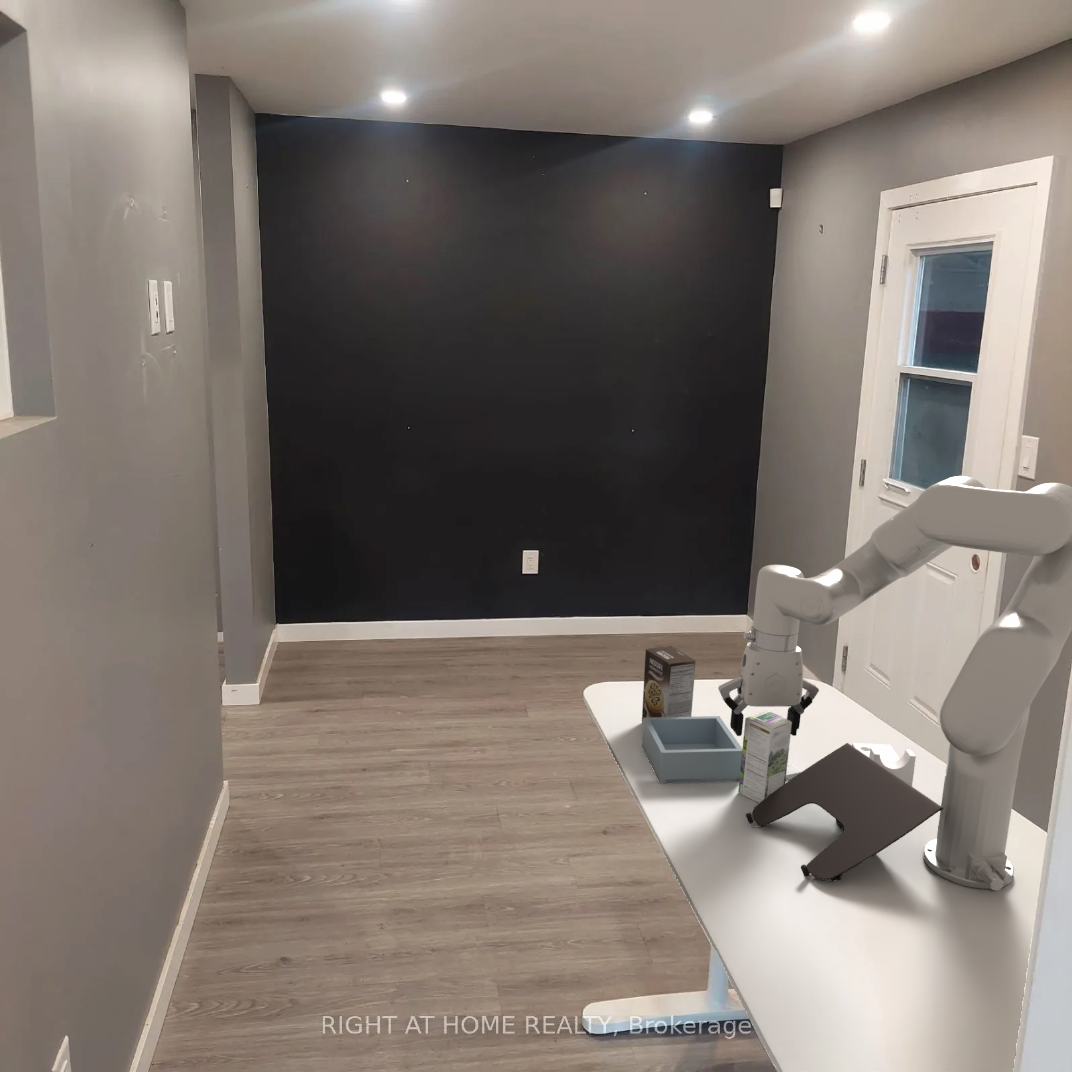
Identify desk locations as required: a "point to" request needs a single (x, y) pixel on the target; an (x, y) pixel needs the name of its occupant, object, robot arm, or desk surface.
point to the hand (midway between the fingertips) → (763, 732)
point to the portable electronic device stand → (849, 808)
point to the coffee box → (668, 683)
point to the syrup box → (764, 755)
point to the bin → (691, 749)
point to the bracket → (890, 759)
